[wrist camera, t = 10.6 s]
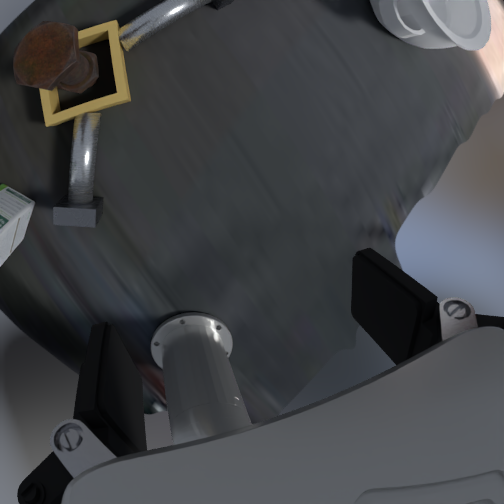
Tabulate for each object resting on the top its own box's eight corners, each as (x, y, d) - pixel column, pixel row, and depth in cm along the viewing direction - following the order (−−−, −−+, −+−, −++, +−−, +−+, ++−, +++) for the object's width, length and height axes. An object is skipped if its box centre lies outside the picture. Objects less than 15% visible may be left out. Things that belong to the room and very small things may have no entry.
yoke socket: (131, 100, 30) (127, 99, 27) (55, 125, 28) (46, 126, 25) (119, 28, 26) (116, 19, 23) (45, 53, 24) (34, 48, 21)
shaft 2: (133, 61, 28) (130, 52, 24) (111, 32, 26) (104, 20, 21) (231, 3, 28) (242, -12, 24) (209, -25, 26) (217, -42, 21)
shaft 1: (72, 112, 29) (60, 112, 24) (112, 113, 30) (105, 113, 26) (65, 211, 33) (53, 224, 29) (102, 213, 35) (95, 227, 30)
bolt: (80, 108, 29) (31, 104, 16) (56, 80, 26) (-1, 63, 13) (118, 73, 28) (91, 45, 15) (93, 45, 26) (56, 6, 13)
